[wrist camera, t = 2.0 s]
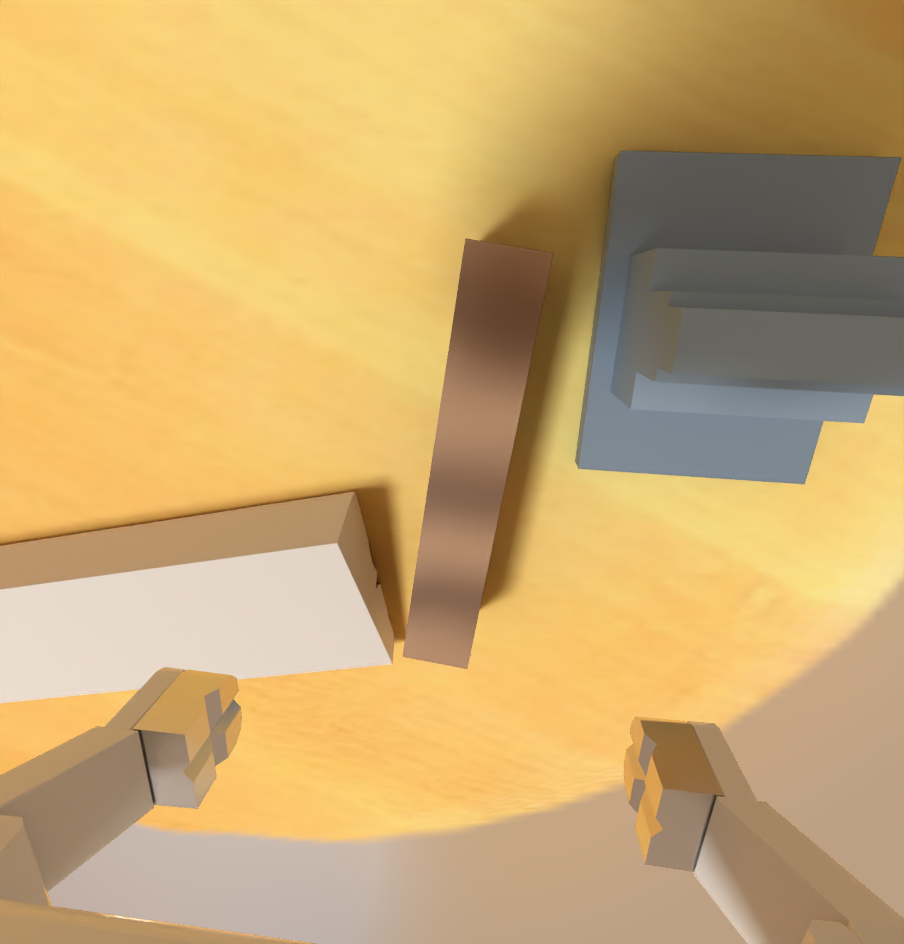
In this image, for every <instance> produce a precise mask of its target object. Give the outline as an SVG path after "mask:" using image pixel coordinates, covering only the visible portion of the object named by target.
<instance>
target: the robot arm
mask: <svg viewBox="0 0 904 944" xmlns="http://www.w3.org/2000/svg"><path fill="white" fill-rule="evenodd" d="M238 691H239V689H238V683H237V678H236V677H234V676H232V675H227V674H219V673H212V672H204V671H196V670H189V669H188V670H184V669H176V668H169V667H164V668H162V669H160V670H158V671H156V672H155V674H154V675H153V676H152V677H151V678H150V679H149V680H148V681H147V682H146V683H145V684H144V685H143V686H142V687H141V688H140V690H139V691H138V692H137V693H136V694H135V695H134V696H133V697H132V698H131V699H130V700H129V701H128V702H127V703H126V705H125V706H124V707H123V708H122V709H121V710H120V711H119V712H118V713H117V714H116V715H115V716H114V717H113V718H112V719H111V721H110V722H109V723H108V724H107V725H106V726H105V727H99V726H97V727H95V728H93V729H91V730H89V731H87V732H85V733H83V734H81V735H79V736H77V737H75V738H73V739H71V740H69V741H67V742H65V743H63V744H61V745H59V746H57V747H55V748H53V749H51V750H49V751H47V752H45V753H43V754H41V755H39V756H37V757H36V758H34V759H32V760H30V761H28V762H26V763H24V764H22V765H20V766H18V767H16V768H14V769H12V770H10V771H8V772H6V773H4V774H2V775H0V944H314V943H307V942H300V941H293V940H286V939H279V938H272V937H265V936H257V935H250V934H244V933H237V932H230V931H223V930H216V929H208V928H201V927H194V926H187V925H180V924H173V923H166V922H159V921H152V920H145V919H138V918H130V917H124V916H116V915H109V914H102V913H96V912H88V911H81V910H74V909H67V908H60V907H53V906H52V905H51V902H50V899H49V896H48V893H47V892H48V891H49V890H50V889H52V888H53V887H54V886H55V885H57V884H58V883H59V882H60V881H62V880H63V879H64V878H66V877H67V876H68V875H69V874H71V873H72V872H73V871H74V870H75V869H77V868H78V867H79V866H81V865H82V864H83V863H84V862H86V861H87V860H88V859H89V858H91V857H92V856H93V855H94V854H96V853H97V852H98V851H100V850H101V849H102V848H103V847H105V846H106V845H107V844H108V843H110V842H111V841H112V840H114V839H115V838H116V837H117V836H119V835H120V834H121V833H122V832H123V831H125V830H126V829H127V828H129V827H130V826H131V825H133V824H134V823H135V822H136V821H138V820H139V819H140V818H141V817H143V816H144V815H145V814H146V813H148V812H149V811H150V810H151V809H153V808H154V805H161V806H172V807H183V808H194V809H198V807H199V805H200V804H201V802H202V800H203V799H204V797H205V795H206V794H207V792H208V790H209V789H210V787H211V785H212V784H213V782H214V780H215V779H216V770H215V766H216V765H218V764H219V763H221V762H222V761H224V760H225V759H226V758H228V757H229V755H230V753H231V752H232V750H233V748H234V746H235V745H236V742H237V739H238V736H239V733H240V730H241V720H242V714H241V707H240V706H239V705H238V704H237V703H236V702H235V700H234V697H235V696H236V694H237V692H238ZM630 734H631V737H632V741H633V744H632V745H631V746H630V747H629V748H627V749H626V754H625V760H624V781H625V788H626V793H627V797H628V801H629V804H630V805H631V806H632V807H633V808H634V810H635V811H636V812H637V813H638V815H637V820H636V824H635V829H636V833H637V837H638V840H639V844H640V848H641V852H642V856H643V860H644V863H645V864H646V865H654V866H660V867H666V868H673V869H679V870H685V871H692V872H694V876H696V878H697V879H698V881H699V882H700V883H701V885H702V886H703V887H704V888H705V890H706V891H707V892H708V893H709V895H710V896H711V897H712V899H713V900H714V901H715V902H716V904H717V905H718V906H719V908H720V909H721V910H722V911H723V913H724V914H725V915H726V917H727V918H728V919H729V920H730V922H731V923H732V924H733V925H734V927H735V928H736V929H737V931H738V932H739V933H740V935H741V936H742V937H743V938H744V940H745V941H746V942H747V944H904V919H903V918H902V917H901V916H900V915H899V914H898V913H897V912H895V911H894V910H893V909H892V908H891V907H889V906H888V905H887V904H886V903H885V902H884V901H882V900H881V899H880V898H879V897H878V896H876V895H875V894H874V893H873V892H872V891H871V890H869V889H868V888H867V887H866V886H865V885H863V884H862V883H861V882H860V881H859V880H858V879H856V878H855V877H854V876H853V875H852V874H850V873H849V872H848V871H847V870H846V869H845V868H843V867H842V866H841V865H840V864H838V863H837V862H836V861H835V860H834V859H833V858H831V857H830V856H829V855H828V854H827V853H826V852H824V851H823V850H822V849H821V848H820V847H818V846H817V845H816V844H815V843H814V842H812V841H811V840H810V839H809V838H808V837H806V836H805V835H804V834H803V833H802V832H801V831H799V830H798V829H797V828H796V827H795V826H794V825H792V824H791V823H790V822H789V821H788V820H787V819H785V818H784V817H783V816H782V815H781V814H779V813H778V812H777V811H776V810H775V809H773V808H772V807H771V806H770V805H769V804H768V803H766V802H762V801H757V799H756V798H755V796H754V794H753V792H752V790H751V788H750V786H749V784H748V783H747V780H746V778H745V776H744V775H743V773H742V771H741V769H740V767H739V765H738V763H737V761H736V759H735V757H734V756H733V754H732V752H731V750H730V748H729V746H728V744H727V742H726V740H725V738H724V736H723V734H722V732H721V730H720V728H719V727H718V726H716V725H715V724H713V723H702V722H691V721H688V722H685V721H677V720H667V719H656V718H645V717H635V718H634V719H633V721H632V725H631V729H630Z"/></svg>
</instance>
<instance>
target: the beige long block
mask: <svg viewBox="0 0 904 944" xmlns="http://www.w3.org/2000/svg"><path fill="white" fill-rule="evenodd" d="M376 581H377V570H376V569H375V567H374V564H373V562H372V558H371V553H370V549H369V542H368V536H367V532H366V529H365V525H364V521H363V518H362V514H361V510H360V506H359V503H358V499H357V495H356V492H355V491H354V492H347V493H341V494H334V495H328V496H321V497H314V498H308V499H301V500H294V501H288V502H281V503H274V504H267V505H261V506H254V507H248V508H242V509H235V510H229V511H223V512H216V513H210V514H204V515H197V516H191V517H184V518H178V519H171V520H165V521H158V522H151V523H145V524H138V525H132V526H125V527H118V528H111V529H105V530H98V531H91V532H85V533H78V534H72V535H66V536H60V537H53V538H47V539H40V540H34V541H27V542H21V543H14V544H8V545H1V546H0V703H6V702H16V701H26V700H36V699H47V698H57V697H67V696H77V695H87V694H97V693H107V692H117V691H127V690H137V689H140V688H141V687H142V686H143V685H144V684H145V683H146V682H147V681H148V680H149V679H150V678H151V677H152V676H153V675H154V674H155V672H156V671H158V670H160V669H162V668H164V667H169V668H176V669H184V670H188V669H189V670H196V671H204V672H212V673H219V674H227V675H232V676H234V677H236V678H237V679H247V678H257V677H268V676H278V675H288V674H298V673H308V672H318V671H328V670H338V669H348V668H358V667H368V666H378V665H388V664H393V650H394V637H395V636H394V632H393V628H392V625H391V622H390V620H389V617H388V610H387V606H386V603H385V599H384V595H383V591H382V588H381V584H377V585H376Z"/></svg>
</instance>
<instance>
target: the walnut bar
mask: <svg viewBox="0 0 904 944" xmlns="http://www.w3.org/2000/svg"><path fill="white" fill-rule="evenodd" d="M552 256H553V253H551V252H545V251H539V250H533V249H527V248H521V247H515V246H508V245H502V244H496V243H490V242H484V241H478V240H472V239H465V245H464V252H463V259H462V265H461V272H460V279H459V285H458V292H457V299H456V305H455V312H454V319H453V325H452V332H451V339H450V345H449V352H448V358H447V365H446V372H445V378H444V385H443V392H442V398H441V405H440V412H439V418H438V425H437V432H436V438H435V445H434V451H433V458H432V465H431V471H430V478H429V485H428V491H427V498H426V505H425V511H424V518H423V525H422V531H421V538H420V545H419V551H418V558H417V564H416V571H415V578H414V584H413V591H412V598H411V604H410V611H409V618H408V624H407V631H406V638H405V644H404V651H403V657H407V658H412V659H417V660H423V661H428V662H433V663H438V664H444V665H449V666H454V667H459V668H465V669H467V667H468V662H469V658H470V653H471V648H472V643H473V638H474V633H475V629H476V624H477V619H478V614H479V609H480V604H481V600H482V595H483V590H484V585H485V580H486V575H487V571H488V566H489V561H490V556H491V551H492V546H493V542H494V537H495V532H496V527H497V522H498V517H499V513H500V508H501V503H502V498H503V493H504V488H505V484H506V479H507V474H508V469H509V464H510V459H511V455H512V450H513V445H514V440H515V435H516V430H517V426H518V421H519V416H520V411H521V406H522V401H523V397H524V392H525V387H526V382H527V377H528V372H529V368H530V363H531V358H532V353H533V348H534V343H535V339H536V334H537V329H538V324H539V319H540V314H541V310H542V305H543V300H544V295H545V290H546V285H547V281H548V276H549V271H550V266H551V261H552Z"/></svg>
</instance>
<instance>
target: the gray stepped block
mask: <svg viewBox="0 0 904 944" xmlns="http://www.w3.org/2000/svg"><path fill="white" fill-rule="evenodd" d="M900 160H901V157H860V156H819V155H778V154H737V153H696V152H655V151H620V153H619V154H618V155H617V156H616V157H615V162H614V169H613V177H612V185H611V192H610V200H609V208H608V215H607V223H606V231H605V238H604V246H603V253H602V261H601V269H600V276H599V284H598V292H597V299H596V307H595V315H594V322H593V330H592V338H591V345H590V353H589V360H588V368H587V376H586V383H585V391H584V399H583V406H582V414H581V422H580V429H579V437H578V444H577V452H576V460H575V462H576V464H577V466H578V469H589V470H604V471H618V472H633V473H648V474H662V475H677V476H691V477H706V478H721V479H735V480H750V481H764V482H779V483H794V484H805V481H806V478H807V475H808V471H809V468H810V464H811V461H812V458H813V454H814V451H815V448H816V444H817V441H818V437H819V434H820V431H821V427H822V424H823V421H835V422H852V423H864V422H865V419H866V416H867V413H868V410H869V407H870V404H871V400H872V397H873V394H876V395H894V396H904V257H884V256H872V255H873V252H874V248H875V245H876V241H877V238H878V235H879V231H880V228H881V224H882V221H883V218H884V214H885V211H886V208H887V204H888V201H889V197H890V194H891V191H892V187H893V184H894V181H895V177H896V174H897V170H898V167H899V164H900Z"/></svg>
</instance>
